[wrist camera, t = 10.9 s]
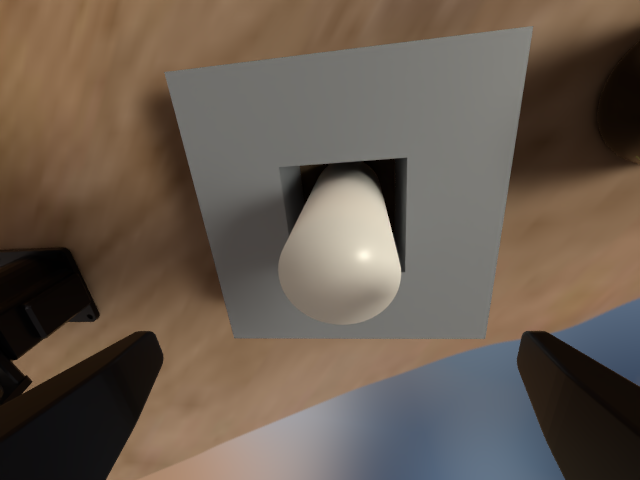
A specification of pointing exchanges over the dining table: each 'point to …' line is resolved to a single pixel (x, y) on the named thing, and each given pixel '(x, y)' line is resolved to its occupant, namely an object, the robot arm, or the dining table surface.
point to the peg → (342, 249)
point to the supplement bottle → (622, 107)
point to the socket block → (360, 145)
